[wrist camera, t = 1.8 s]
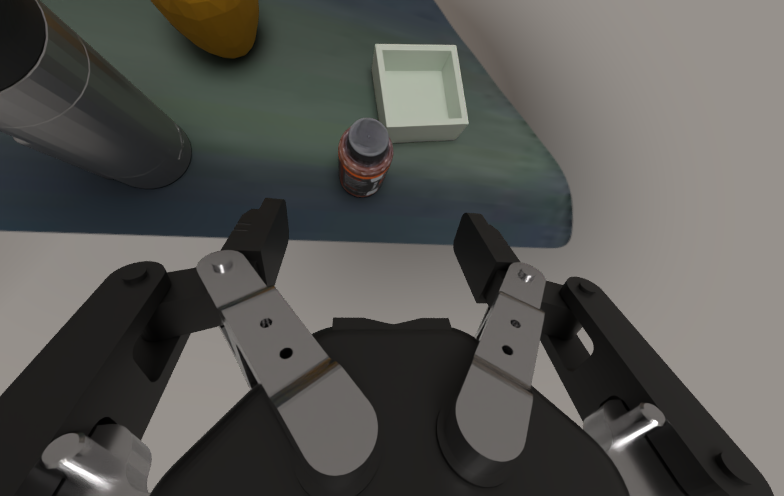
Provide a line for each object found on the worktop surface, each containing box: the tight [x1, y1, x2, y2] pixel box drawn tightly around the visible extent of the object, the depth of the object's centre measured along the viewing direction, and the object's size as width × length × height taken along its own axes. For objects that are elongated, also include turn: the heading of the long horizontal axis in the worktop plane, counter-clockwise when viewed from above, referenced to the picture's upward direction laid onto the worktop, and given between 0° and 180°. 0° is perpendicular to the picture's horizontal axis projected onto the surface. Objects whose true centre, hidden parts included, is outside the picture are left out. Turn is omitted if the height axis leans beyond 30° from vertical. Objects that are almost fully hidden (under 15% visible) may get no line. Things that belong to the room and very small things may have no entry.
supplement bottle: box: [338, 118, 393, 197], centre depth 32 cm, size 6×6×11 cm
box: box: [371, 44, 469, 143], centre depth 38 cm, size 11×11×4 cm
